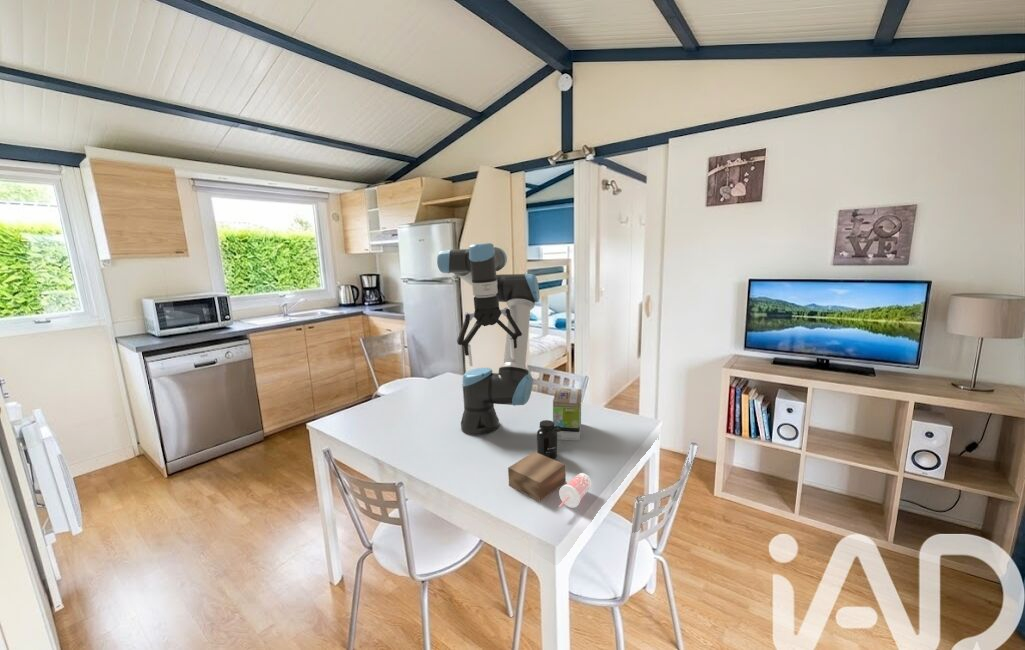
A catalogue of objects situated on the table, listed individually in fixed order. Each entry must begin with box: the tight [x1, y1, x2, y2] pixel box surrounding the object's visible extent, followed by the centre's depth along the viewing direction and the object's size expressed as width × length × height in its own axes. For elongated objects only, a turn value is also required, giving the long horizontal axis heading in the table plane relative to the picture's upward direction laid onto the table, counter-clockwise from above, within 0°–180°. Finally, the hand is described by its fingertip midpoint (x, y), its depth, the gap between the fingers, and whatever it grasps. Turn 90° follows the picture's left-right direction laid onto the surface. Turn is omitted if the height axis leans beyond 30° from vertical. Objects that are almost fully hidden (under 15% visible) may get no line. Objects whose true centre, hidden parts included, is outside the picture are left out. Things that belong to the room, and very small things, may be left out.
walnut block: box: [507, 451, 567, 503], centre depth 116 cm, size 12×12×6 cm
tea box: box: [552, 387, 582, 441], centre depth 148 cm, size 15×10×15 cm, turn 168°
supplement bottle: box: [536, 419, 558, 460], centre depth 131 cm, size 7×7×12 cm
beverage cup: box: [557, 472, 592, 509], centre depth 107 cm, size 6×6×14 cm
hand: (492, 361), depth 124 cm, fingers open, 13 cm apart
